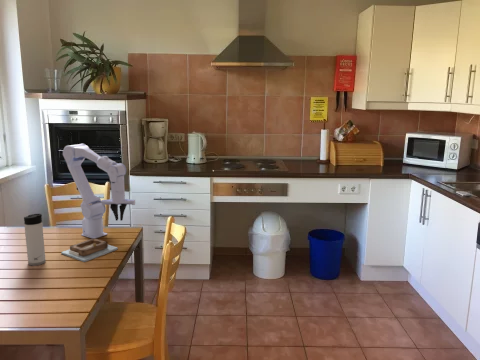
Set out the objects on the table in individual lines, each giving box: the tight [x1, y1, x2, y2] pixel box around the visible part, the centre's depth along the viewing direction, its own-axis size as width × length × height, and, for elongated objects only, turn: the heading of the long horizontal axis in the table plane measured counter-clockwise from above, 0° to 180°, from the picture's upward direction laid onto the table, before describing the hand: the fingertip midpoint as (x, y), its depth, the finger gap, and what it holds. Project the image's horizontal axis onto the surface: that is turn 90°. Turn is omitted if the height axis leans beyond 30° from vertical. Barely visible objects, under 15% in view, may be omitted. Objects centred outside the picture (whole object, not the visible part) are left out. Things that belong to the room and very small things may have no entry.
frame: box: [69, 238, 109, 256], centre depth 176 cm, size 9×12×3 cm
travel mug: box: [23, 213, 47, 267], centre depth 163 cm, size 6×7×20 cm
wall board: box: [61, 244, 119, 263], centre depth 177 cm, size 15×17×2 cm
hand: (119, 219), depth 189 cm, fingers closed
